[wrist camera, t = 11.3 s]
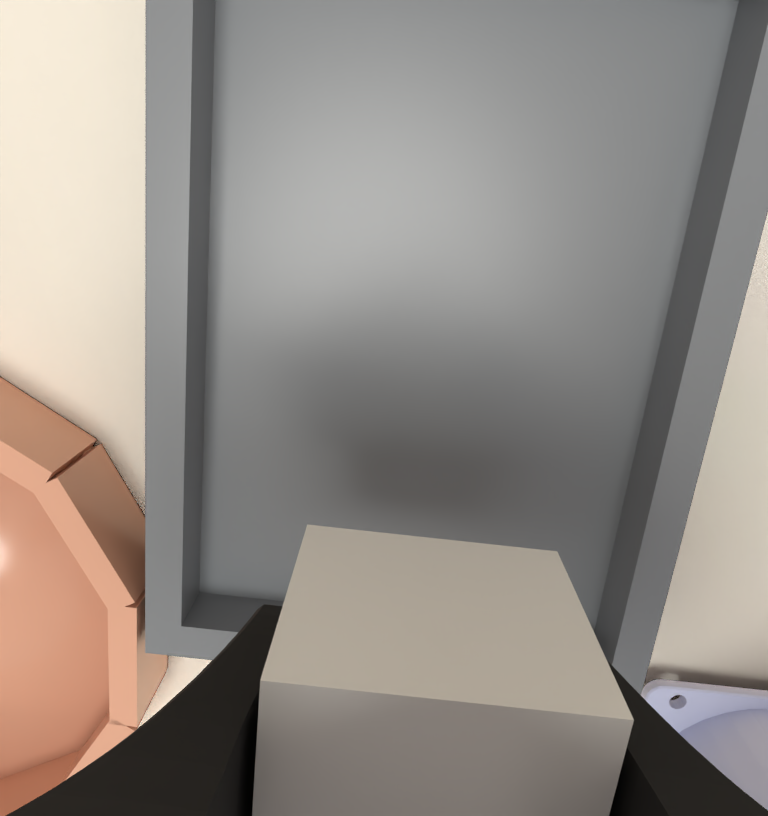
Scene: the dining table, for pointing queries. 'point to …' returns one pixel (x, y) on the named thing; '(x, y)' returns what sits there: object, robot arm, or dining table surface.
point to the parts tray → (440, 286)
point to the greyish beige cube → (434, 685)
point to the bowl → (66, 602)
